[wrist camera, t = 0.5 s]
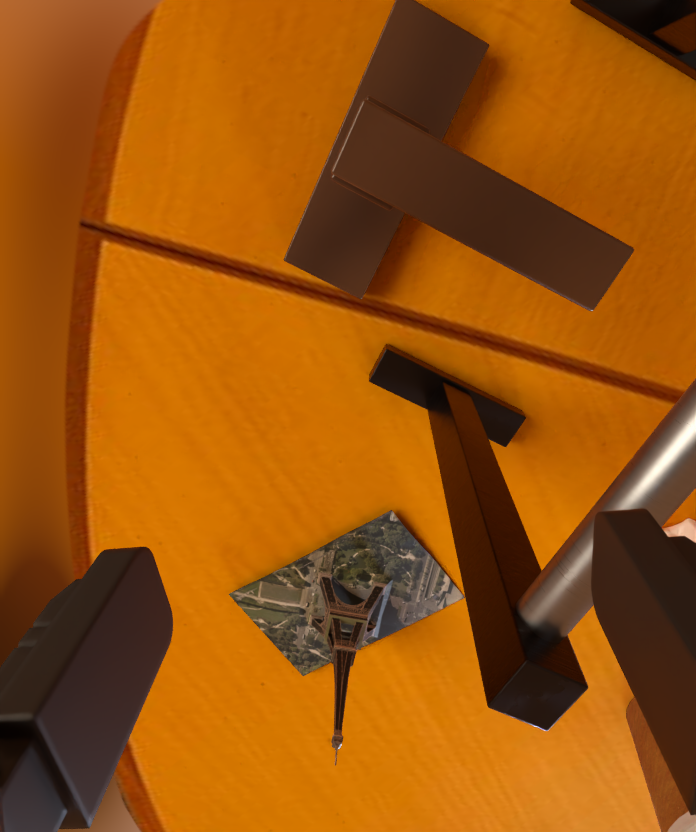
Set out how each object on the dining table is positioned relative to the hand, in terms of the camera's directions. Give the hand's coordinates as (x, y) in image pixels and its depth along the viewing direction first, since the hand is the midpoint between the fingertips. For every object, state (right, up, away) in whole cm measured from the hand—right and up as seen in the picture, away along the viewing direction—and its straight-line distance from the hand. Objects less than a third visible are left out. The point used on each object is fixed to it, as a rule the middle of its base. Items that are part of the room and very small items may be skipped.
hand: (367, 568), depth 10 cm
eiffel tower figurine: (-1, -11, +34) cm, 35 cm away
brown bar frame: (+4, +16, +22) cm, 27 cm away
